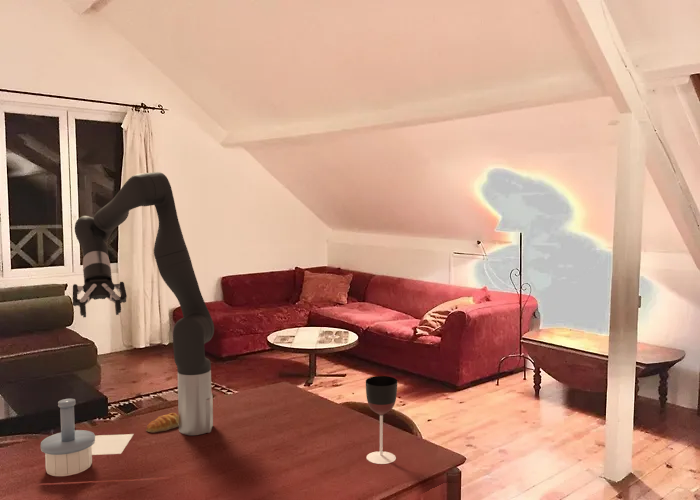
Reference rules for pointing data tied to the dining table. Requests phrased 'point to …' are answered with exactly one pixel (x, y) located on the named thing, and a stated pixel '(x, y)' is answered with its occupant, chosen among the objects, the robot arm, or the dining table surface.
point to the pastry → (163, 423)
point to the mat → (110, 444)
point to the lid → (67, 433)
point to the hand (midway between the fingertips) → (101, 314)
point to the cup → (68, 462)
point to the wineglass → (381, 409)
